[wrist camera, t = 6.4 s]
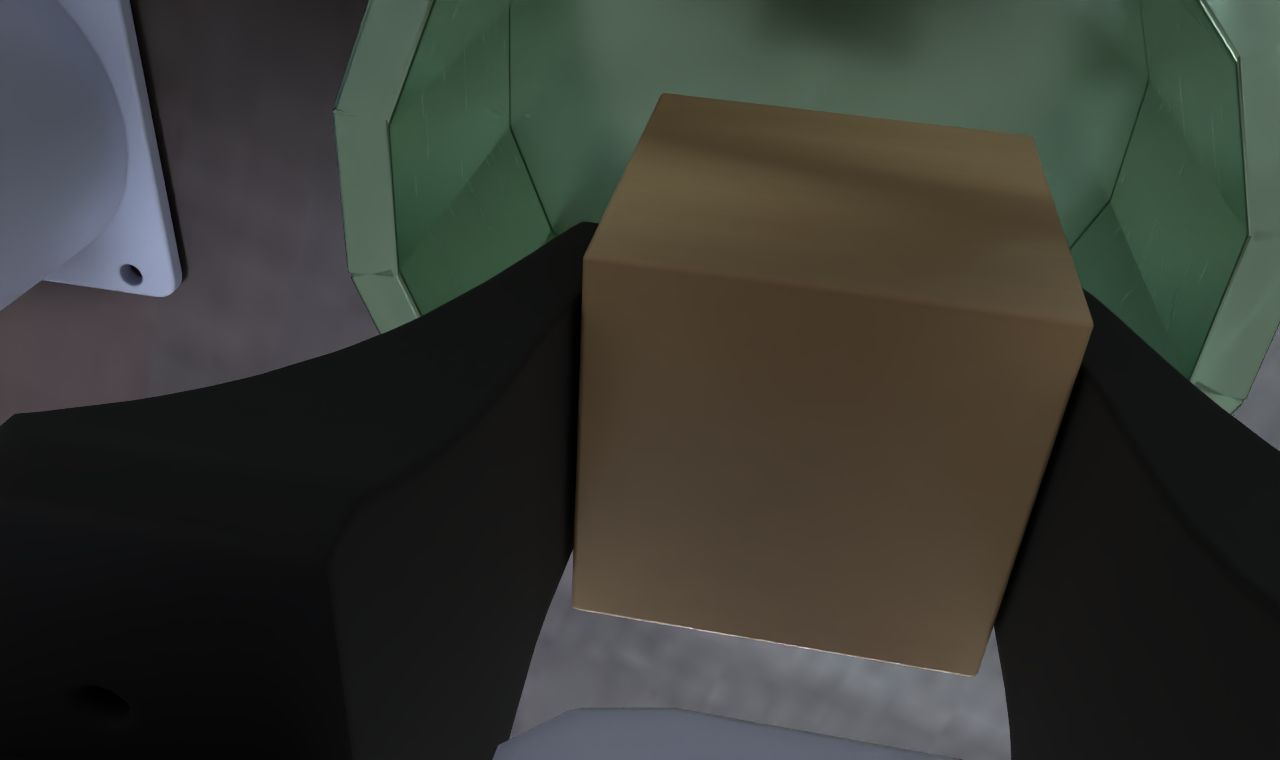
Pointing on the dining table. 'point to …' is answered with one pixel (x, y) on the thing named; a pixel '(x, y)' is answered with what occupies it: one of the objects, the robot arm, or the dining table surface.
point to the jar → (839, 83)
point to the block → (820, 379)
